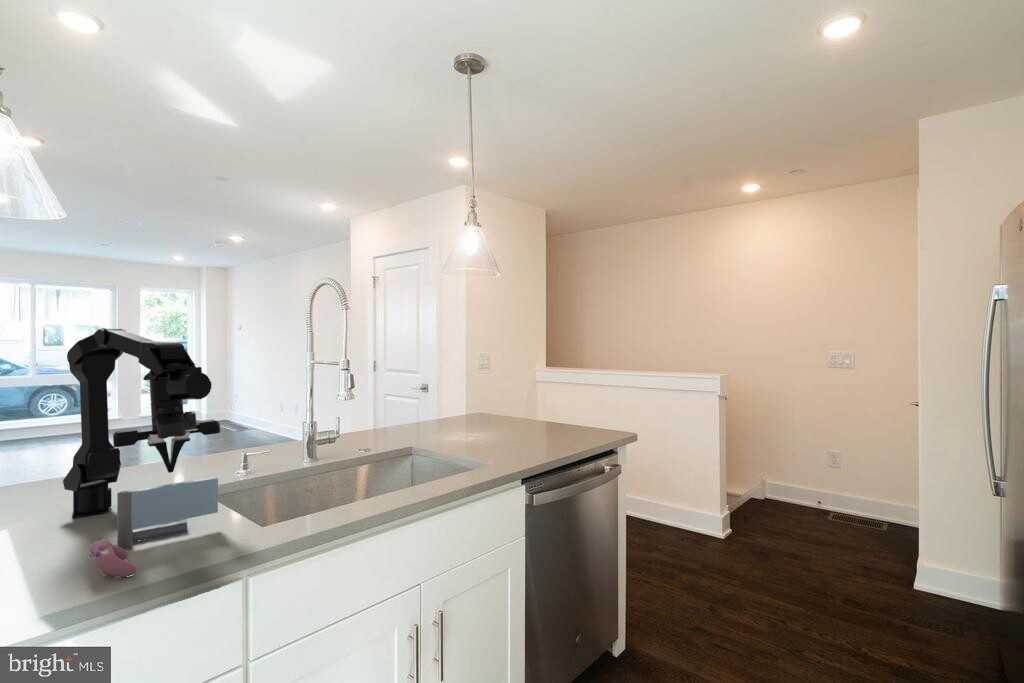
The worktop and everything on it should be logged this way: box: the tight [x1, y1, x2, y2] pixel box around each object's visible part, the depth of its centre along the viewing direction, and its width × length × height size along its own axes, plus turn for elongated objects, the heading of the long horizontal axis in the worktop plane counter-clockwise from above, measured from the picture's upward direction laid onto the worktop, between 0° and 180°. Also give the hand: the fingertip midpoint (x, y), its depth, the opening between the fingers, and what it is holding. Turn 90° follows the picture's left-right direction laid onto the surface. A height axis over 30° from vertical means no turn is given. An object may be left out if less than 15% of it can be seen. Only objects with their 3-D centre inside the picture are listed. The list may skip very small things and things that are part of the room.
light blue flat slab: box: [116, 476, 219, 550], centre depth 104 cm, size 17×2×11 cm, turn 133°
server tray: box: [133, 519, 188, 542], centre depth 111 cm, size 11×18×2 cm, turn 37°
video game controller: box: [87, 538, 137, 578], centre depth 88 cm, size 10×5×7 cm, turn 46°
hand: (170, 472), depth 108 cm, fingers closed
